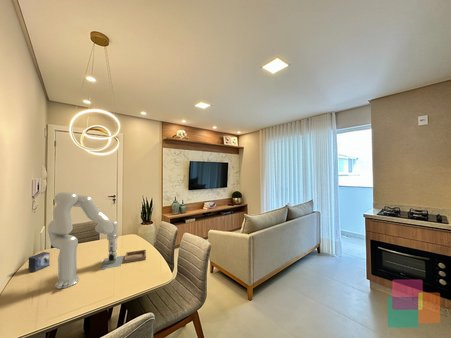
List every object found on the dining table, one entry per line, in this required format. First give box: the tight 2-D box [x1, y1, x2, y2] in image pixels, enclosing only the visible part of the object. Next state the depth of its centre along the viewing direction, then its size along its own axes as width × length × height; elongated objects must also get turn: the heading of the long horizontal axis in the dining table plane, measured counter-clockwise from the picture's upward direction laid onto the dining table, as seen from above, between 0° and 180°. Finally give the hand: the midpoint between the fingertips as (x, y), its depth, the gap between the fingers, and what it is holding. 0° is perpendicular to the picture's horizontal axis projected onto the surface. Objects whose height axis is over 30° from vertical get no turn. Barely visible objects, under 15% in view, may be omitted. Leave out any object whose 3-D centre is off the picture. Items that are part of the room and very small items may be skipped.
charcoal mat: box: [99, 255, 125, 271], centre depth 159 cm, size 20×14×1 cm
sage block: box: [107, 251, 118, 264], centre depth 159 cm, size 5×5×7 cm
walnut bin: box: [123, 249, 147, 264], centre depth 167 cm, size 16×16×3 cm
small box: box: [27, 251, 51, 273], centre depth 150 cm, size 11×6×10 cm, turn 168°
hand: (112, 257), depth 159 cm, fingers open, 9 cm apart
